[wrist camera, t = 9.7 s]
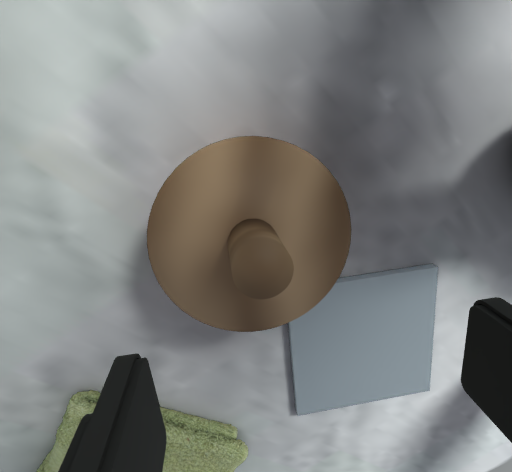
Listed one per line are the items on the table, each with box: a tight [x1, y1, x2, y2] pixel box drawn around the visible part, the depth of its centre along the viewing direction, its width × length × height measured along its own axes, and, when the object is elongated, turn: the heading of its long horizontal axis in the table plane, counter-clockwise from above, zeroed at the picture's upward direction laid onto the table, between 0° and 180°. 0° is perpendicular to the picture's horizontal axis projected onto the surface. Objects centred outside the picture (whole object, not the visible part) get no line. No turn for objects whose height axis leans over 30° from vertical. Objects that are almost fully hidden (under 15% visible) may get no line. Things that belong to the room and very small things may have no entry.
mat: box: [288, 264, 438, 416], centre depth 33 cm, size 14×14×1 cm
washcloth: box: [36, 390, 248, 472], centre depth 33 cm, size 13×18×3 cm
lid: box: [147, 136, 351, 332], centre depth 20 cm, size 13×13×5 cm
